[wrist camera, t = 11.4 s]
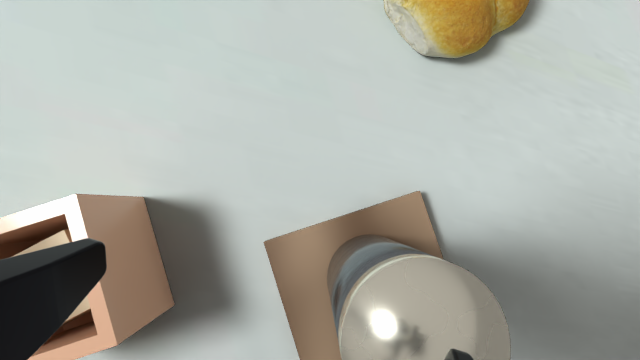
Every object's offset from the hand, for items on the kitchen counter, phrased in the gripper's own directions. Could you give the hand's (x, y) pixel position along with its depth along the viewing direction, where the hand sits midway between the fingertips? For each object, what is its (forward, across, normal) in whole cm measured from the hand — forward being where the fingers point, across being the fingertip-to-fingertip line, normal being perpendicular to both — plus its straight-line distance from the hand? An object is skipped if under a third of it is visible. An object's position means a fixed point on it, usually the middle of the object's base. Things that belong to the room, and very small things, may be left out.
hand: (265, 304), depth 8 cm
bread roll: (+20, -4, -10) cm, 23 cm away
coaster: (+11, -4, +8) cm, 14 cm away
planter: (+8, +12, +9) cm, 18 cm away
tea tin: (+11, -4, +6) cm, 13 cm away
